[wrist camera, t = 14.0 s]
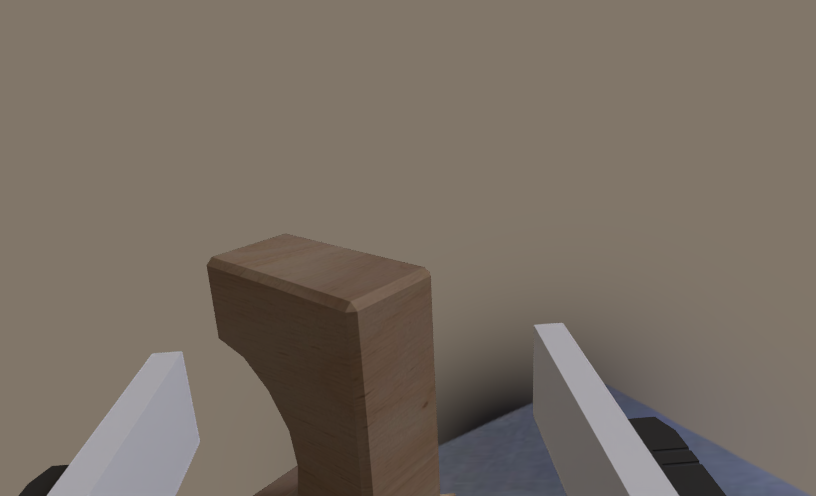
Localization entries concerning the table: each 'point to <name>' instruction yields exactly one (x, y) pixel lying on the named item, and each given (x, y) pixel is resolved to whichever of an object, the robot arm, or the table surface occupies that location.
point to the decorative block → (337, 362)
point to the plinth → (448, 494)
